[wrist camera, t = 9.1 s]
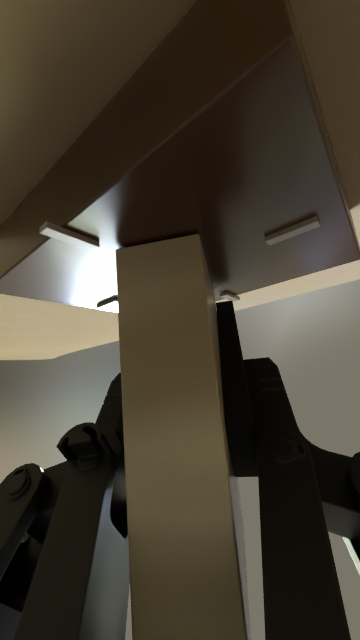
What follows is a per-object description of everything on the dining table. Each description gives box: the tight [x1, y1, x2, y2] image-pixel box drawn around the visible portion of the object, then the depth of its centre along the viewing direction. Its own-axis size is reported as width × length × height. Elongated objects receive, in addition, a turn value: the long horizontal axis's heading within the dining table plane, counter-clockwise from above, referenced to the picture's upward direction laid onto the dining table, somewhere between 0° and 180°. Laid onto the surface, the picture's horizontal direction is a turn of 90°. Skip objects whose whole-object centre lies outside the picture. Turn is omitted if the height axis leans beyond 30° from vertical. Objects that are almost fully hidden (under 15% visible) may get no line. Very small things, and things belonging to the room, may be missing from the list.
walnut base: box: [0, 0, 360, 312], centre depth 10 cm, size 11×10×2 cm
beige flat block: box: [115, 234, 251, 640], centre depth 9 cm, size 6×2×10 cm, turn 11°
